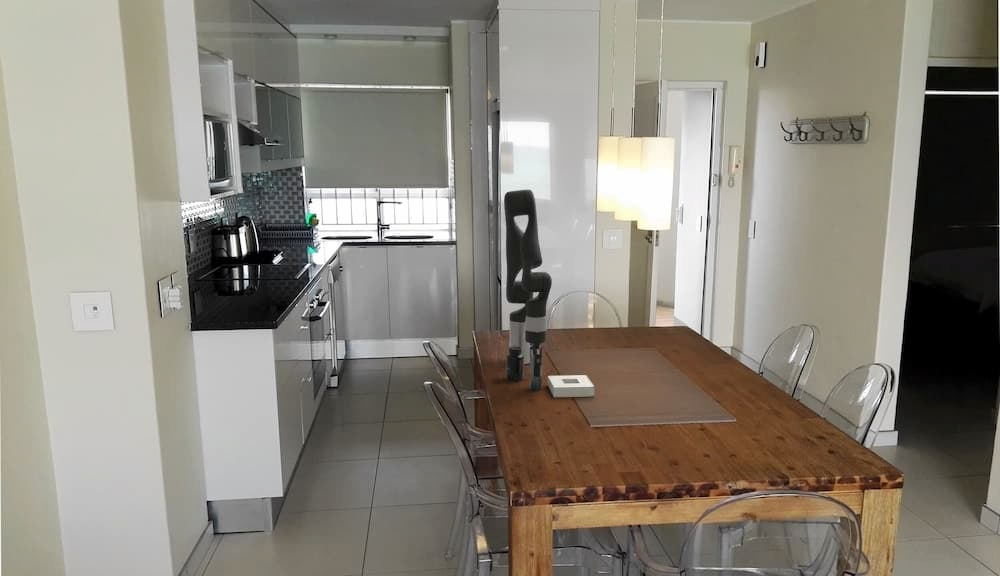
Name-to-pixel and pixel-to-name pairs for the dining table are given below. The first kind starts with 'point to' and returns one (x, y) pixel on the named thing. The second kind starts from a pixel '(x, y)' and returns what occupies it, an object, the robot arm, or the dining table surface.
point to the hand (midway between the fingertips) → (535, 373)
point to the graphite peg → (535, 382)
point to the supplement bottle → (515, 364)
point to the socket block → (570, 386)
